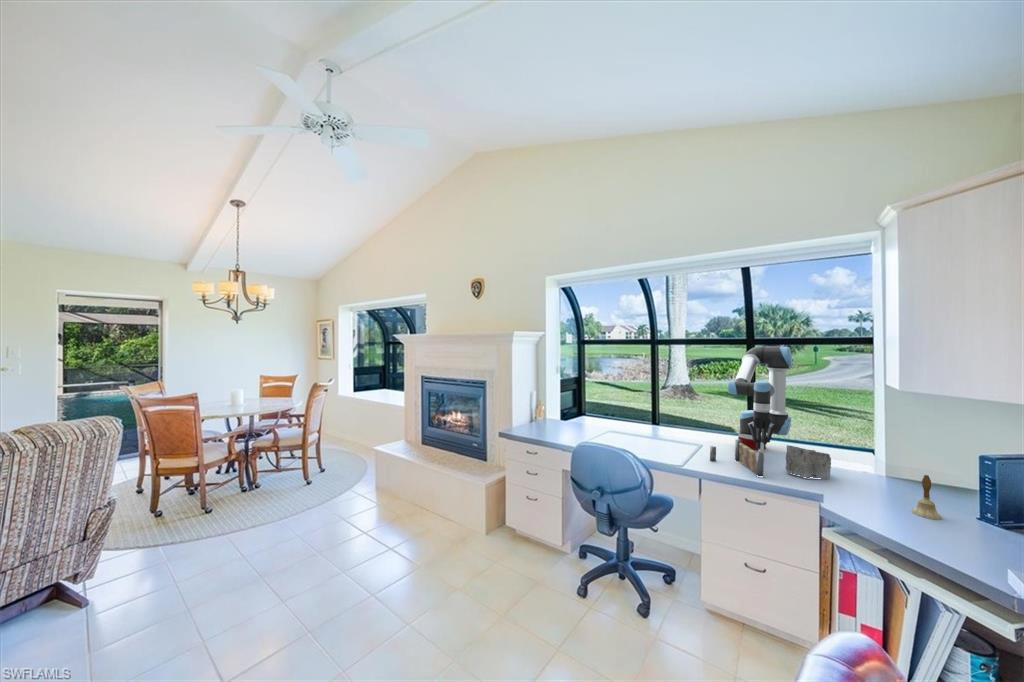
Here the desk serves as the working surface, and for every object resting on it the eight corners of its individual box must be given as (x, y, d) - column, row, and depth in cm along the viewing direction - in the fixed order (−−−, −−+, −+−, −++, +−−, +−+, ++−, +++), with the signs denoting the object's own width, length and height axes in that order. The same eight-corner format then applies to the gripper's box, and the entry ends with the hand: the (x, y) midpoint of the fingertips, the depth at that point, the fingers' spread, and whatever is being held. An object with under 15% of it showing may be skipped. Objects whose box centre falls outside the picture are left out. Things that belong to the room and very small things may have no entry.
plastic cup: (763, 459, 222) (763, 438, 222) (744, 458, 222) (744, 438, 222) (752, 453, 233) (752, 433, 233) (734, 453, 233) (734, 433, 233)
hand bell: (933, 520, 149) (934, 480, 149) (906, 511, 157) (907, 472, 157) (946, 518, 152) (948, 478, 151) (919, 508, 160) (920, 470, 159)
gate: (739, 461, 216) (739, 443, 216) (741, 461, 216) (741, 443, 216) (756, 473, 197) (756, 453, 197) (759, 473, 197) (759, 453, 196)
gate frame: (707, 458, 222) (708, 438, 222) (739, 460, 220) (740, 439, 220) (728, 476, 195) (728, 452, 195) (764, 477, 193) (764, 454, 193)
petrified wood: (828, 473, 200) (829, 444, 200) (833, 484, 185) (834, 453, 185) (784, 466, 210) (785, 439, 210) (785, 476, 196) (786, 447, 195)
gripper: (751, 411, 201) (750, 456, 202) (779, 412, 199) (778, 458, 200) (745, 409, 209) (744, 452, 209) (771, 410, 206) (770, 453, 207)
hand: (761, 455), depth 204 cm, fingers closed
